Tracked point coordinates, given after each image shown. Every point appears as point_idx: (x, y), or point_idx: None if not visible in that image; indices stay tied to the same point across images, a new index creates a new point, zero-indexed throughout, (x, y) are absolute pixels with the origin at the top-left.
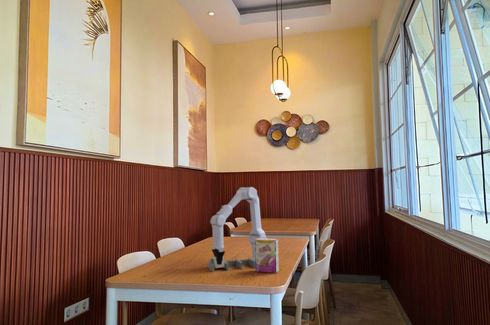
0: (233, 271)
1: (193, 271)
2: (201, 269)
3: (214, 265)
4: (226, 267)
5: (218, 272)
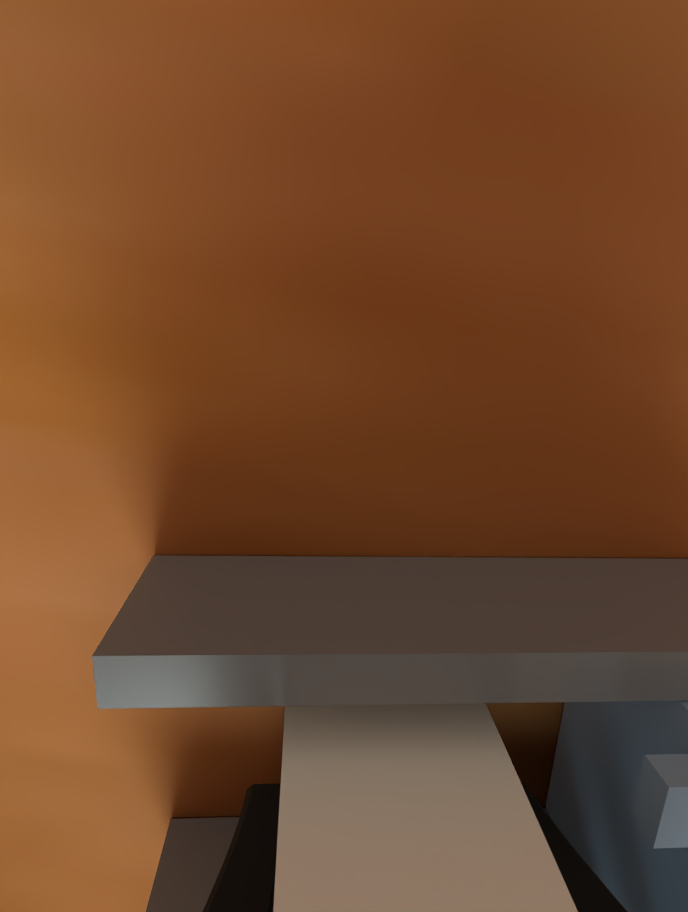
0: (68, 903)
1: (408, 100)
2: (534, 366)
3: None
4: (172, 880)
5: (68, 658)
